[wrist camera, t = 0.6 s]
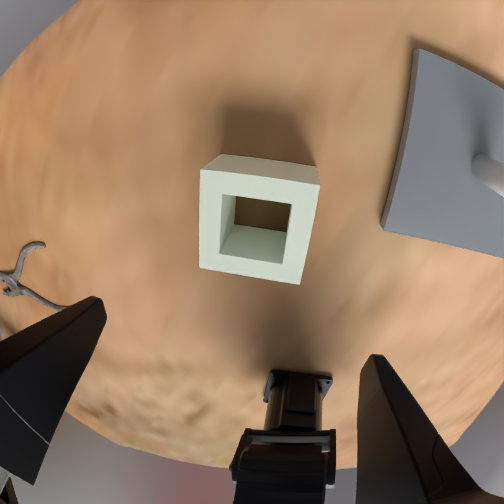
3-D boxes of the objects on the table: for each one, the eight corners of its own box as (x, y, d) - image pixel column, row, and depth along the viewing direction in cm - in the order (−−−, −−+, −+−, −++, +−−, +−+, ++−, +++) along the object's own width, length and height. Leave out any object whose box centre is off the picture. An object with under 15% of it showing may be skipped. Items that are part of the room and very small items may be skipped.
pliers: (85, 308, 27) (27, 327, 34) (89, 304, 28) (29, 324, 35) (36, 236, 23) (-8, 279, 30) (41, 232, 24) (-4, 276, 31)
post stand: (499, 252, 17) (541, 305, 11) (379, 224, 18) (410, 287, 12) (537, 116, 11) (598, 138, 5) (413, 50, 12) (471, 32, 6)
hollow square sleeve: (300, 250, 20) (299, 284, 17) (216, 236, 20) (199, 267, 17) (316, 166, 17) (320, 185, 13) (220, 153, 17) (200, 169, 14)
